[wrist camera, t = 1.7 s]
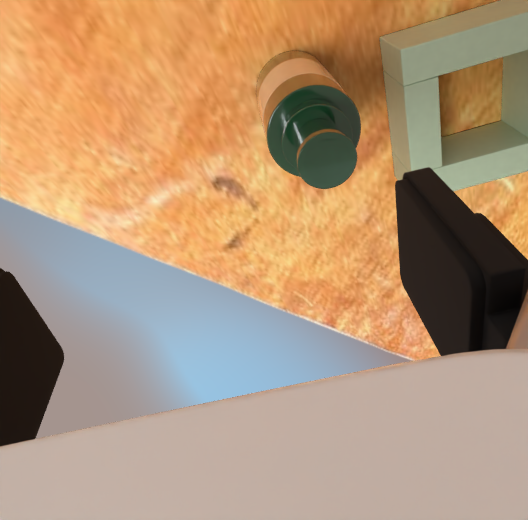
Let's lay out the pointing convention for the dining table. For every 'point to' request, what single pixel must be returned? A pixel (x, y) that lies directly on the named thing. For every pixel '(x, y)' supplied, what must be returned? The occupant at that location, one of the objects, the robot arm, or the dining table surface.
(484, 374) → the robot arm
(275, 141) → the bottle
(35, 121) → the dining table surface
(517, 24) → the rack
